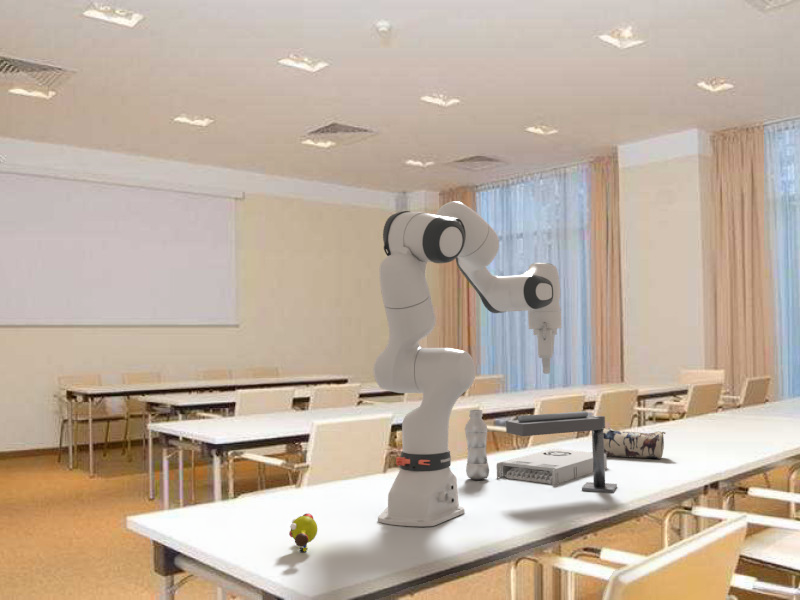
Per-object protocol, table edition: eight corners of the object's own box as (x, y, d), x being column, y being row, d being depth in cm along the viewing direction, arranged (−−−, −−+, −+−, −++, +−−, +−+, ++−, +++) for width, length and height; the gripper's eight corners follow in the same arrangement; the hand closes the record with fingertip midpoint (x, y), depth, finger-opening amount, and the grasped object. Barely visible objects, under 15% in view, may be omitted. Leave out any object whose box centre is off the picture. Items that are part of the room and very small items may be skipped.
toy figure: (293, 538, 156) (293, 506, 157) (320, 538, 157) (319, 505, 157) (285, 565, 138) (284, 528, 139) (315, 564, 139) (314, 527, 139)
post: (612, 492, 195) (610, 431, 196) (581, 490, 198) (579, 430, 199) (616, 486, 202) (614, 427, 203) (586, 485, 205) (584, 426, 206)
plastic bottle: (488, 481, 213) (486, 411, 214) (464, 481, 214) (463, 411, 215) (490, 477, 219) (488, 409, 220) (467, 477, 221) (465, 409, 222)
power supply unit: (496, 480, 219) (496, 463, 219) (553, 463, 244) (552, 448, 244) (553, 487, 207) (553, 469, 207) (607, 470, 231) (606, 453, 232)
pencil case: (596, 457, 252) (595, 428, 253) (603, 453, 259) (602, 425, 260) (664, 461, 241) (662, 431, 241) (669, 457, 248) (668, 428, 249)
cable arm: (594, 425, 205) (593, 408, 206) (613, 428, 198) (612, 411, 198) (506, 432, 195) (505, 414, 195) (522, 436, 187) (522, 417, 187)
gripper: (556, 322, 193) (558, 375, 193) (556, 322, 213) (558, 370, 213) (531, 323, 194) (533, 376, 194) (534, 322, 214) (536, 370, 214)
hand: (546, 373), depth 203 cm, fingers closed
